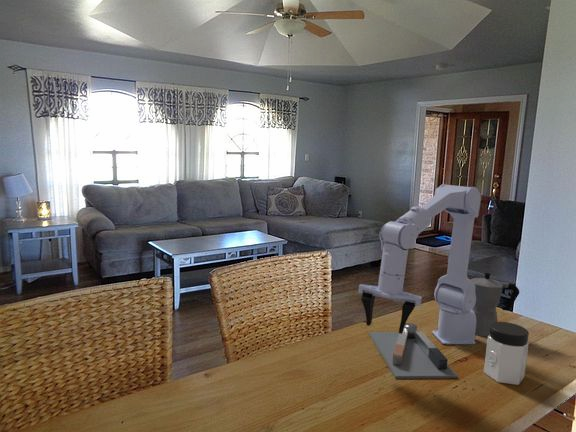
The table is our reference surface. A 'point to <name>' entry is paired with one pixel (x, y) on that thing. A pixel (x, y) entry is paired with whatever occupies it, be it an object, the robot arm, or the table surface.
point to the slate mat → (408, 358)
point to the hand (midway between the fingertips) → (384, 328)
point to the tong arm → (403, 342)
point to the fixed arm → (431, 350)
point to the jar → (506, 352)
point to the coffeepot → (489, 302)
